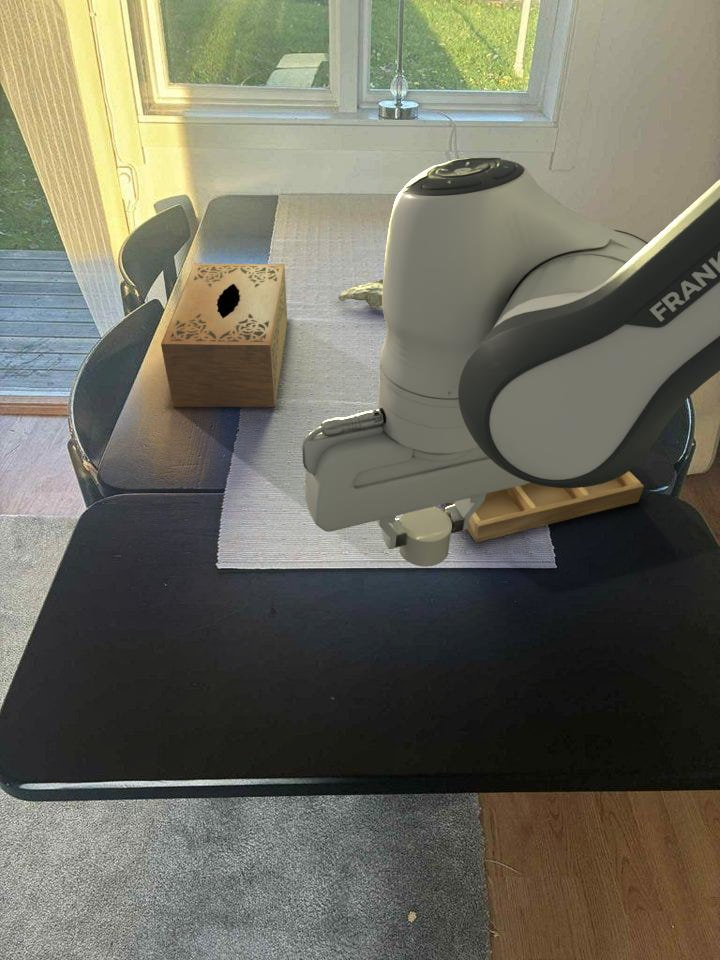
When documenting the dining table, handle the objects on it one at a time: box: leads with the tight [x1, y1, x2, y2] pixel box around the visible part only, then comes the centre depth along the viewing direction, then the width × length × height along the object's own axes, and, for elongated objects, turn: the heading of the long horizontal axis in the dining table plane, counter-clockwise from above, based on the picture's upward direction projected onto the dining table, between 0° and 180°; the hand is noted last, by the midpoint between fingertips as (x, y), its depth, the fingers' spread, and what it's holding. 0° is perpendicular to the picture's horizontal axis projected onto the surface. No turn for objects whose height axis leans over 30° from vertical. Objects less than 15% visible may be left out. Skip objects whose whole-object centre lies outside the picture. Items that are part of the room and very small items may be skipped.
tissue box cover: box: [160, 262, 288, 408], centre depth 106 cm, size 26×14×10 cm, turn 1°
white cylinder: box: [397, 506, 452, 567], centre depth 60 cm, size 4×4×3 cm
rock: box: [338, 278, 383, 308], centre depth 126 cm, size 19×11×2 cm, turn 75°
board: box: [449, 470, 645, 543], centre depth 89 cm, size 22×22×3 cm
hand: (425, 534), depth 60 cm, fingers closed on white cylinder, 4 cm apart
